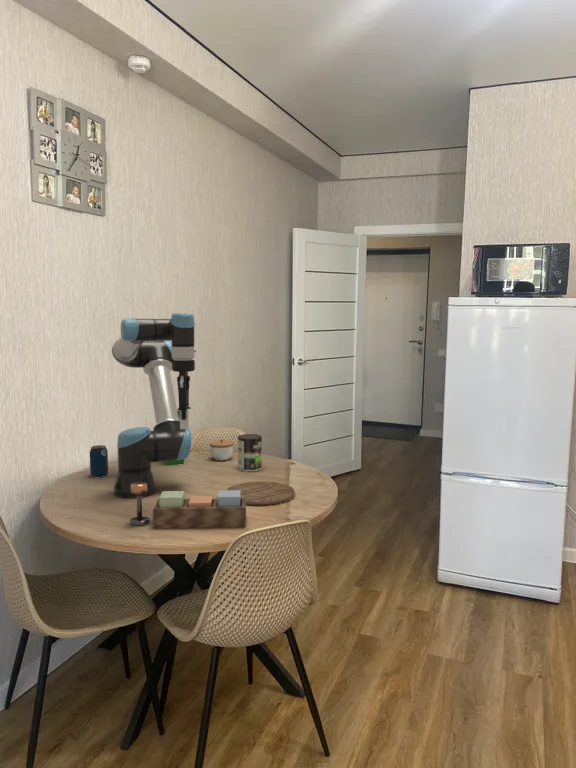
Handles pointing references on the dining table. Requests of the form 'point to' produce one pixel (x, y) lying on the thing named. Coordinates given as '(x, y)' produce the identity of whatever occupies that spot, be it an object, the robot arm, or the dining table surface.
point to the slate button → (229, 498)
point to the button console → (199, 516)
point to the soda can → (98, 461)
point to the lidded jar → (221, 449)
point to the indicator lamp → (139, 504)
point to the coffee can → (249, 452)
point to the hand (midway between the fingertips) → (184, 428)
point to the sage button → (171, 499)
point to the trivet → (264, 493)
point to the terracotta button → (201, 501)
